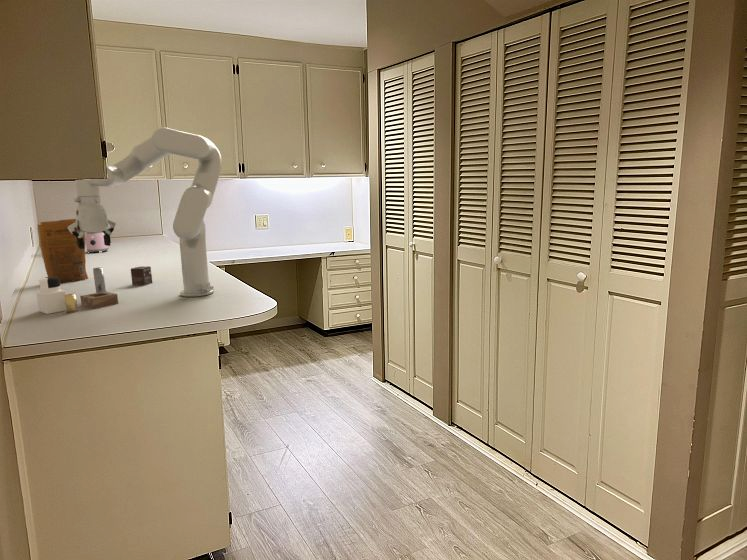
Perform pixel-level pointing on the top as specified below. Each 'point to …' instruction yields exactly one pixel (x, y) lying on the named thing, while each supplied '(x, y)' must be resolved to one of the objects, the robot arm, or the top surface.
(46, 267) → the pancake mix bag
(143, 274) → the box
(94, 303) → the hole block
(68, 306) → the short peg
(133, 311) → the top surface
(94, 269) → the long peg
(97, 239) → the blender
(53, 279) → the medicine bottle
